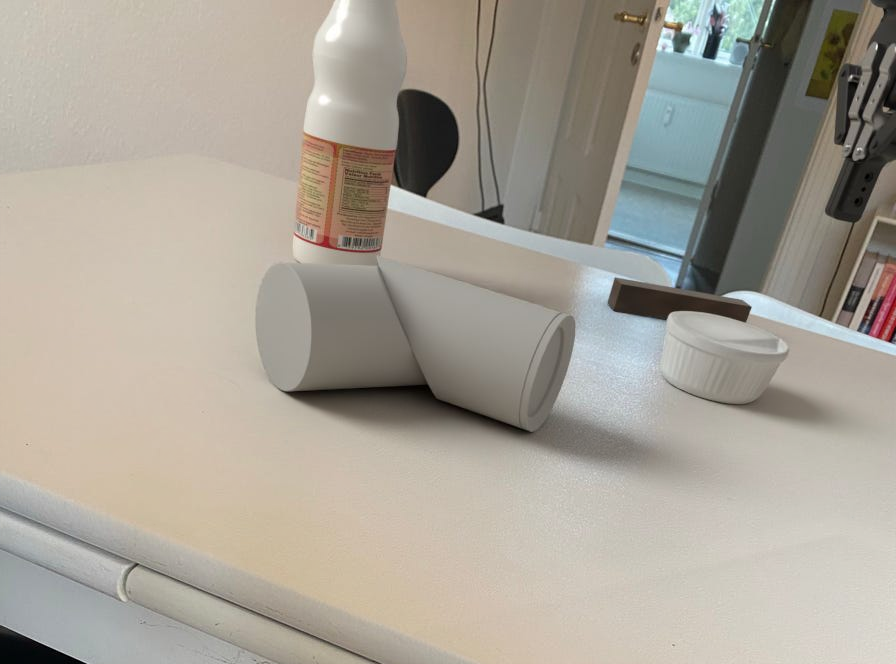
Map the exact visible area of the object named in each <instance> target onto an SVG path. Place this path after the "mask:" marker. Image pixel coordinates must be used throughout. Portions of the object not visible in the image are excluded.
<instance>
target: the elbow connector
mask: <svg viewBox="0 0 896 664" xmlns="http://www.w3.org/2000/svg"><path fill="white" fill-rule="evenodd" d="M377 261H378V264H379V265H378V266H366V265H339V264H312V263H300V262H281V261H280V262H275V263H274V264H272V265H270V267H269V268H268V269H267V270H266V271H265V273H264V275H263V276H262V278H261V282H260V285H259V288H258V292H257V296H256V302H255V315H254V317H255V318H254V319H255V325H254V326H255V338H256V344H257V350H258V354H259V357H260V360H261V364H262V366H263V369H264V372H265V373H266V376H267V377H268V379H269V381H270V382H271V383H272V385H274V386H275V387H276V388H277V389H278V390H280V391H283V392H304V391H306V392H307V391H320V390H321V391H325V390H327V391H328V390H343V389H344V390H345V389H346V390H347V389H363V388H364V389H366V388H385V387H389V388H390V387H407V386H409V387H410V386H426V385H428V386H429V389H430V390H431V392H432V394H433V395H434V397H435V398H436V399H437V400H440V401H442V402H444V403H448V404H451V405H454V406H457V407H458V408H462V409H464V410H468V411H470V412H473V413H476V414H479V415H482V416H485V417H488V418H491V419H494V420H496V421H499V422H501V423H504V424H507V425H511V426H513V427H516V428H519V429H522V430H525V431H528V432H530V433H533V432H536V431H537V430H539V428H540V427H541V426H542V425H543V424H544V422H545V421H546V420H547V418H548V417H549V414H550V413H551V411H552V410H553V407H554V406H555V404H556V401H557V400H558V396H559V394H560V391H561V389H562V387H563V384H564V383H565V382H564V381H565V379H566V376H567V373H568V370H569V366H570V362H571V360H572V355H573V352H574V351H573V350H574V347H575V346H574V345H575V340H576V320H575V318H574V316H573V315H572V314H569V313H565V312H562V311H559V310H556V309H552V308H549V307H545V306H543V305H540V304H536V303H533V302H529V301H526V300H523V299H521V298H516V297H514V296H511V295H507V294H504V293H500V292H497V291H495V290H490V289H488V288H484V287H481V286H477V285H474V284H471V283H468V282H465V281H461V280H458V279H455V278H452V277H448V276H445V275H442V274H439V273H435V272H432V271H429V270H426V269H422V268H419V267H416V266H413V265H409V264H406V263H403V262H400V261H397V260H394V259H391V258H387V257H384V256H382V255H380V256H377Z"/></svg>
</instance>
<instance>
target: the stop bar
mask: <svg viewBox="0 0 896 664" xmlns="http://www.w3.org/2000/svg"><path fill="white" fill-rule="evenodd" d="M607 303H608V304H609V305H610V306H611V307H610V306H609V305H608V304H607ZM607 303H606V304H607V305H608V306H609V307H610V308H611V310H612V311H613V312H619V313H626V314H630V315H637V316H642V317H647V316H651V317H650V318H653V317H655V318H654V319H659V318H660V320H666V321H667V318H668V316H669V314H670V313H672V312H677V311H693V312H703V313H709V314H714V315H719V316H723V317H727V318H731V319H734V320H738V321H741V322H744V323H747V321H748V318H749V315H750V314H751V311H752V306H751V305H750V304H749V303H748V302H746V301H745V300H743V299H738V298H734V297H729V296H724V295H718V294H713V293H706V292H701V291H694V290H689V289H683V288H678V287H672V286H667V285H661V284H655V283H650V282H645V281H638V280H634V279H633V280H632V279H628V278H621V277H614V278H613V282H612V285H611V289H610V292H609V296H608V299H607Z"/></svg>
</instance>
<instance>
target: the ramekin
mask: <svg viewBox="0 0 896 664" xmlns="http://www.w3.org/2000/svg"><path fill="white" fill-rule="evenodd" d="M665 329H666V331H665V336H664V340H663V347H662V351H661V352H662V353H661V357H660V362H659V363H660V364H659V368H660V370H661V373H662V377H663V378H664V379H665V380H666V381H667V382H668V383H669V384H671V385H672V386H674V387H675V388H677V389H679V390H682V391H683V392H686V393H688V394H691V395H693V396H696V397H699V398H701V399H704V400H709V401H713V402H718V403H722V404H727V405H728V404H729V405H730V404H731V405H747V404H750V403H753V402H754V401H756V400H758V399H759V398H760V397H761V396H762V394H763V393H764V392H765V390H766V389H767V387H768V386H769V384H770V383H771V381H772V380H773V377H775V374H776V372H777V371H778V369H779V367H780V366H781V364H782V363H783V362H785V361H786V360H787V358H788V356H789V353H790V347H789V344H788V343H787V342H786V341H784V339H782V338H780V337H779V336H777V335H775V334H774V333H771V332H770V331H768V330H766V329H764V328H761V327H758V326H756V325H754V324H751V323H748V322H746V323H744V322H741V321H738V320H734V319H731V318H727V317H723V316H719V315H714V314H709V313H703V312H693V311H677V312H672V313H670V314H669V316H668V318H667V320H666V322H665Z"/></svg>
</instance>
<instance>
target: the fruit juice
mask: <svg viewBox="0 0 896 664" xmlns="http://www.w3.org/2000/svg"><path fill="white" fill-rule="evenodd" d="M398 13H399V12H398V6H397V0H333V3H332V6H331V8H330V9H329V12H328V14H327V16H326V18H325V19H324V21H323V22H322V24H321V25H320V26H319V28H318V30H317V31H316V34H315V36H314V39H313V44H312V45H313V46H312V52H311V55H312V66H313V75H314V83H313V87H312V91H311V93H310V95H309V96H308V98H307V103H306V108H305V112H304V113H305V114H304V121H303V130H302V143H301V153H300V164H299V172H298V173H299V175H298V184H297V194H296V206H295V216H294V224H293V225H294V226H293V227H294V228H293V237H292V238H293V239H292V254H293V258H294V259H295V260H296V262H297V263H312V264H339V265H366V266H379V264H378V261H377V256H382V255H381V253H382V249H383V248H382V247H383V241H384V233H385V227H386V219H387V213H388V206H389V200H390V193H391V186H392V179H393V172H394V165H395V158H396V153H397V147H398V138H399V131H400V130H399V128H400V115H399V111H398V96H399V94H400V90H401V88H402V85H403V82H404V80H405V78H406V73H407V65H408V52H407V48H406V45H405V42H404V40H403V36H402V32H401V27H400V20H399V15H398Z"/></svg>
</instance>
